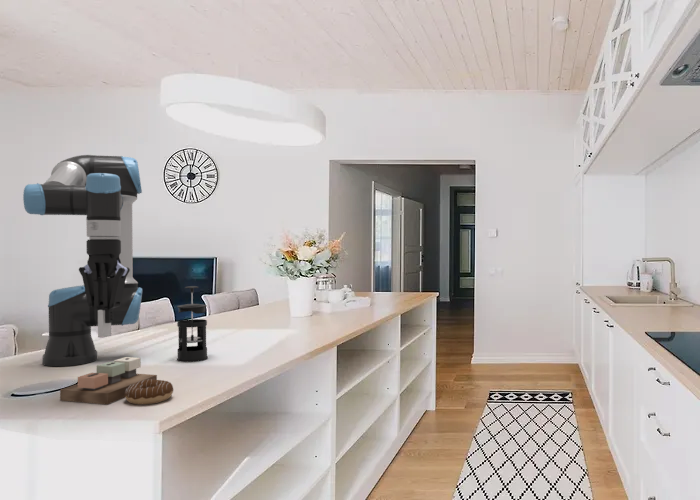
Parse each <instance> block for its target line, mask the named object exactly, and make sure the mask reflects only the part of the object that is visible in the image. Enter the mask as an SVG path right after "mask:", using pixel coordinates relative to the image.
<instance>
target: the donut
mask: <svg viewBox="0 0 700 500" xmlns="http://www.w3.org/2000/svg"><path fill="white" fill-rule="evenodd" d="M173 393H174V386H173V384H172V383H171V382H170V381H168V380H164V379H163V380H161V379H157V380H143V381H139V382H137V383H134V384H132V385H130V386H129V387H128V388H127V389H126V391H125V394H124V395H125V399H126V400H127V402H128V403H130V404H133V405H138V406H139V405H143V406H145V405H152V404H158V403H162V402H164V401H167V400H169V398H171V396H172V395H173Z"/></svg>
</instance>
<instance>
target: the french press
mask: <svg viewBox="0 0 700 500" xmlns="http://www.w3.org/2000/svg"><path fill="white" fill-rule="evenodd" d="M184 289H189V290H190V294H191V301H190V303H187V304H186V303H185V304H181V305H177V309H178V314H180V313H185V312H191V319H182V320H178V321H177V323H176V324H177V325H176V326H177V327H178V348H177V358H176V361H177V362H181V363H195V362H196V363H197V362H203V361H206V360H208V358H209V357H208V348H207V325H208V320H207V319H204V318H203V319H201V318H200V319H199V318H197V319H196V318H194V314H204V313H206V307H207V305H208V304H200V303H194V301H193V299H194V296H193V294H194V289H199V286H196V285H190V286H185V287H184ZM188 328H191V335H190V336H188ZM194 328H196V330H197V331H196V335H197V336H194ZM194 343H197V344H196V345H190V346H188V344H194Z"/></svg>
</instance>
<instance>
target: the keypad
mask: <svg viewBox="0 0 700 500" xmlns="http://www.w3.org/2000/svg"><path fill="white" fill-rule="evenodd" d="M143 380H158V375H157V374H149V373H147V374H145V373H137V369H134V370H131V371H125V373H122V374H119V375H116V376H113V377H108V384H106V385H103V386H101V387H98V388H95V389H91V388H78V383H77V384H73V385H70V386H67V387H64V388H61V389H60V390H59V396H60V397H59V398H60V399H59V400H60V402H61V401H62V402H63V401H64V402H74V403H85V404H86V403H87V404H95V405H96V404H98V405H106V406H107V405H110V404H112V403H116V402H118V401H120V400H122V399H126V397H125V395H124V394H125V391H126V389H127V388H128V387H129V386H130V385H132V384H134V383H137V382H139V381H143Z"/></svg>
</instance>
